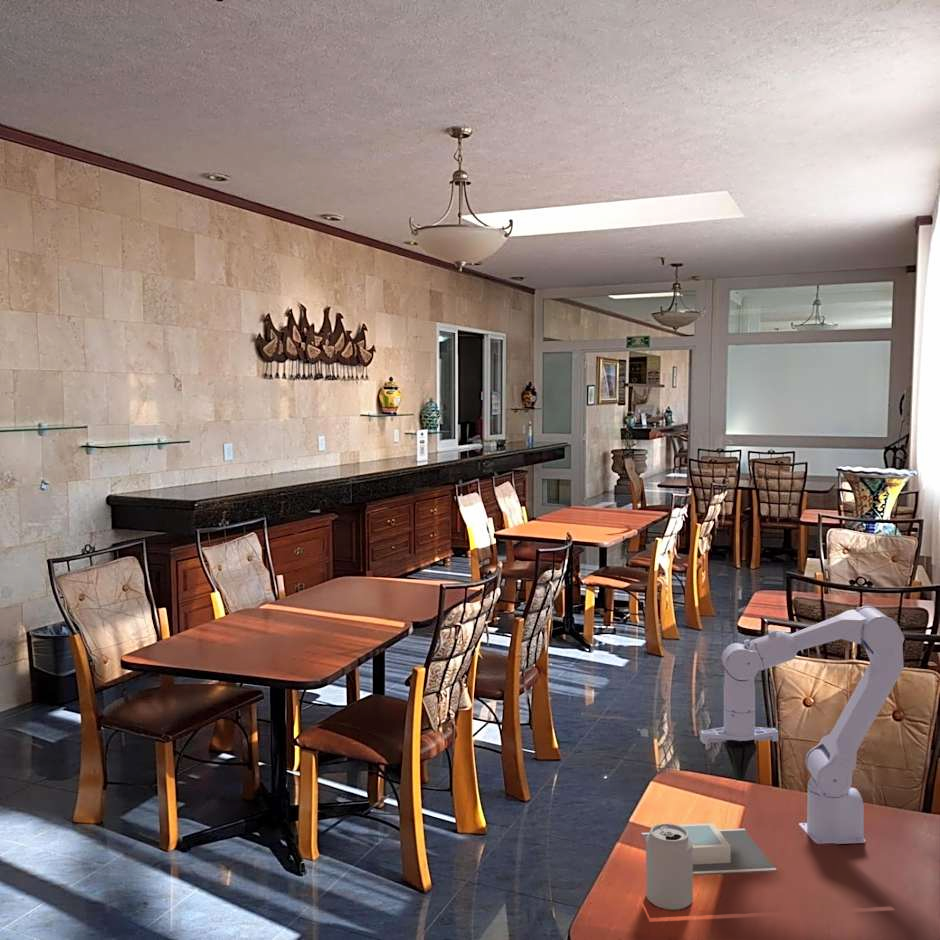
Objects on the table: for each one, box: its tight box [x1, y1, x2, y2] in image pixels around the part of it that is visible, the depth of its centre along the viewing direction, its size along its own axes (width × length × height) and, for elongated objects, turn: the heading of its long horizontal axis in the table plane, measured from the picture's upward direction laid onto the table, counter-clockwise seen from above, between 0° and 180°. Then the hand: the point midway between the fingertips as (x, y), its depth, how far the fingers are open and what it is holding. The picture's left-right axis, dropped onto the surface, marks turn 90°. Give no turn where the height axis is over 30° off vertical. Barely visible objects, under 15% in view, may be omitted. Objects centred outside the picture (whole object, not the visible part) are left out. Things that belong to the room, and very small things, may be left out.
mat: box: [640, 827, 778, 876], centre depth 162 cm, size 20×16×1 cm
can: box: [645, 823, 694, 911], centre depth 146 cm, size 8×8×12 cm
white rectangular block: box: [677, 822, 731, 864], centre depth 162 cm, size 3×9×8 cm
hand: (738, 778), depth 170 cm, fingers closed
